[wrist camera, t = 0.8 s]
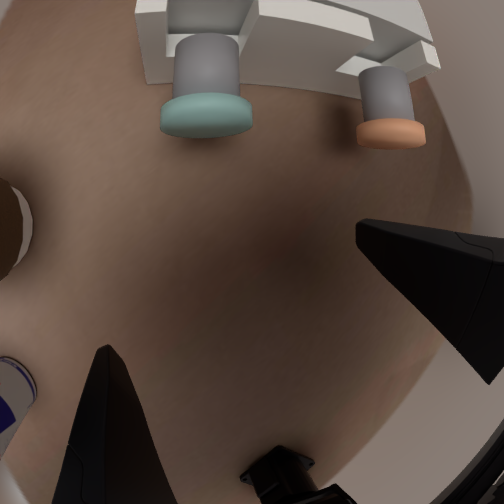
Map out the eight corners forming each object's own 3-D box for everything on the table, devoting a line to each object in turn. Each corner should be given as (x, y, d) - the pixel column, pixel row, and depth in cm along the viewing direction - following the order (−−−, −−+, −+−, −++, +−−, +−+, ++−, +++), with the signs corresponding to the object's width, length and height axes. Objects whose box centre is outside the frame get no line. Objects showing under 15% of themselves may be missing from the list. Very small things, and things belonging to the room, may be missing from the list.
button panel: (370, 101, 24) (441, 69, 15) (146, 84, 19) (134, 13, 10) (360, 43, 23) (418, 1, 14) (154, 19, 19) (152, -56, 9)
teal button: (241, 138, 17) (263, 113, 13) (162, 139, 16) (157, 113, 12) (239, 68, 17) (259, 30, 12) (165, 67, 16) (164, 26, 11)
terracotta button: (395, 151, 20) (439, 142, 16) (344, 144, 19) (387, 129, 14) (388, 93, 19) (427, 75, 15) (337, 81, 18) (374, 55, 14)
